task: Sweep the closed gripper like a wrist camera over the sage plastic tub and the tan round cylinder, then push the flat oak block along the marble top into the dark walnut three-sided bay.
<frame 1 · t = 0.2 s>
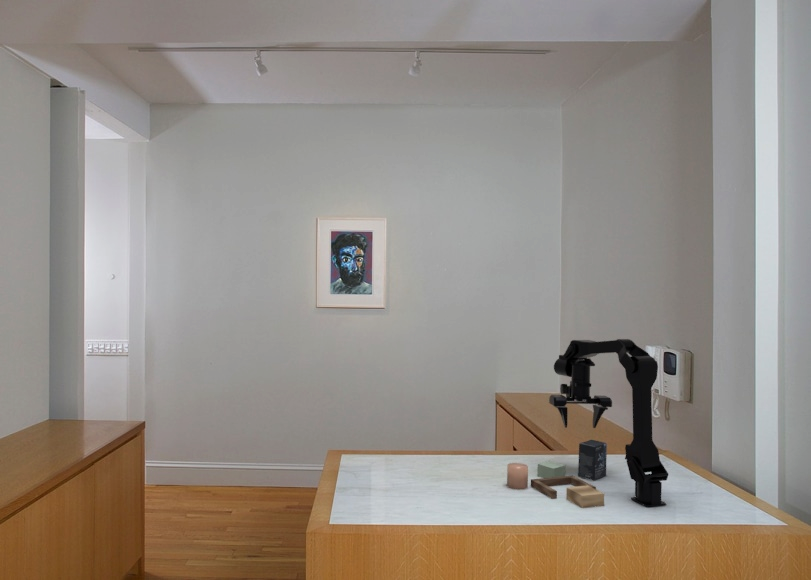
hand: (579, 427, 183), 14 cm above the counter, fingers open, 9 cm apart
box: (592, 477, 179), on the counter
tan round cylinder: (517, 486, 168), on the counter
oak block: (584, 503, 156), on the counter
sage tub: (551, 477, 178), on the counter
walnut bay: (561, 489, 166), on the counter
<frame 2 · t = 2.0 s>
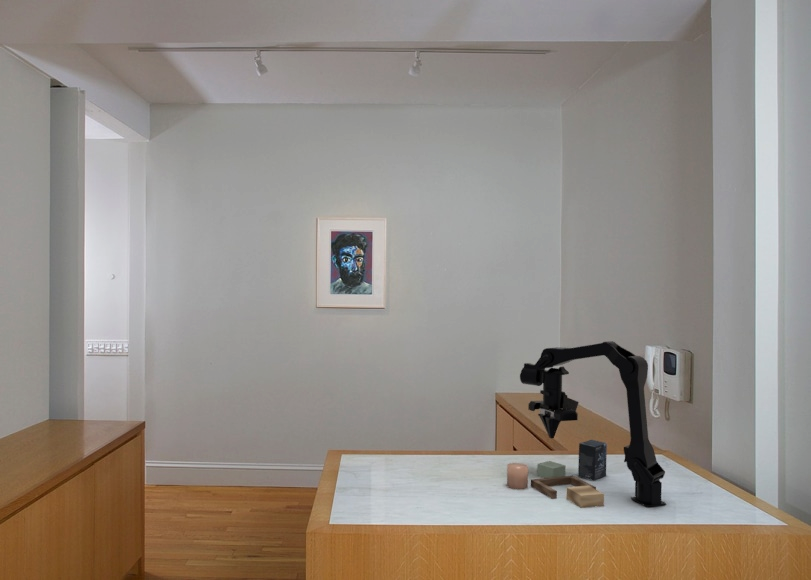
hand: (551, 438, 178), 12 cm above the counter, fingers closed
nothing on the counter moved.
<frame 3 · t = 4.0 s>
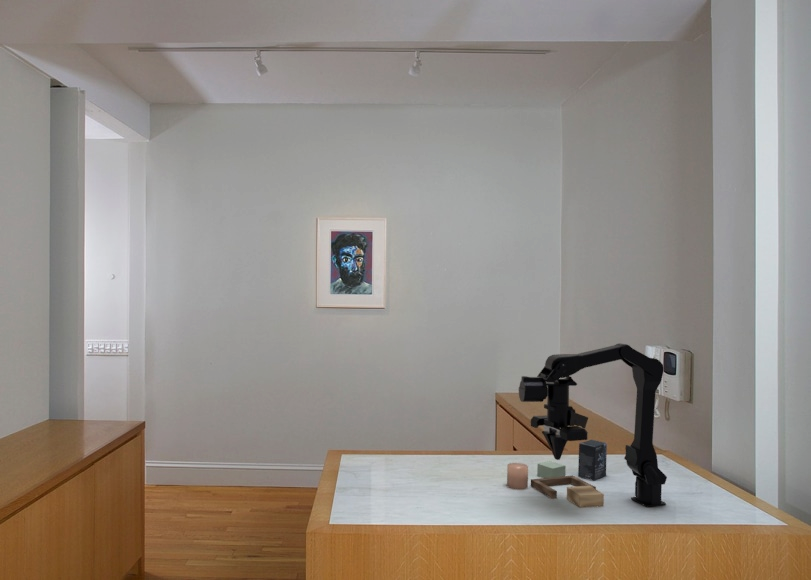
hand: (557, 459, 155), 12 cm above the counter, fingers closed
nothing on the counter moved.
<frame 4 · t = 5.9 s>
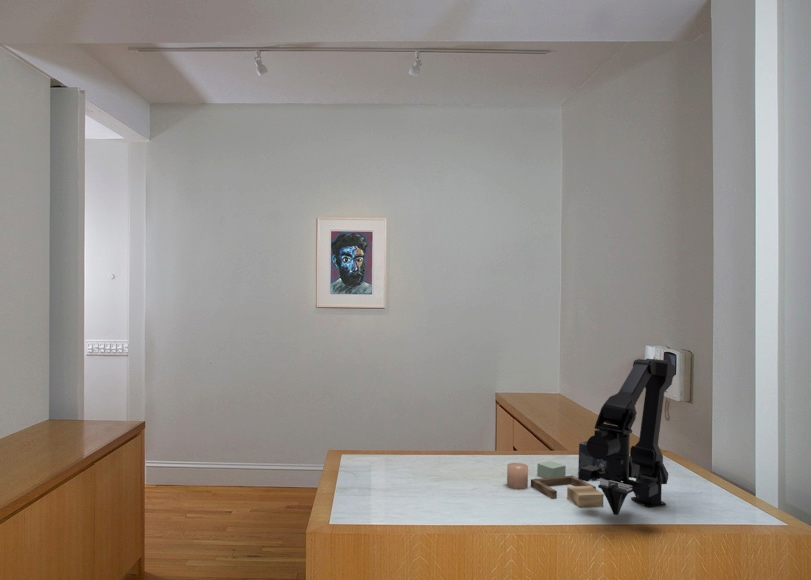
hand: (616, 514, 144), 1 cm above the counter, fingers closed
nothing on the counter moved.
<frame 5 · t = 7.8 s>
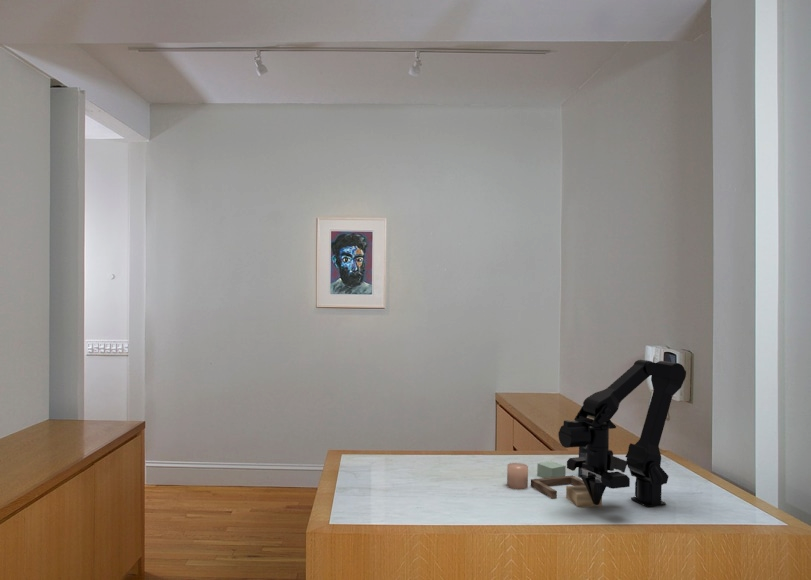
hand: (596, 504, 151), 1 cm above the counter, fingers closed
oak block: (583, 502, 156), on the counter, touching gripper
everything else where it was.
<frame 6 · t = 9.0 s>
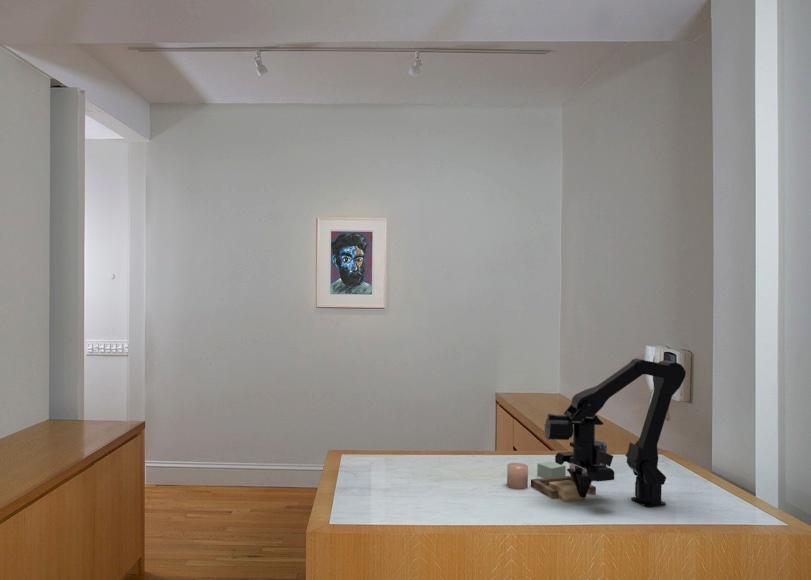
hand: (582, 497, 157), 1 cm above the counter, fingers closed
oak block: (566, 497, 161), on the counter, touching gripper
everything else where it was.
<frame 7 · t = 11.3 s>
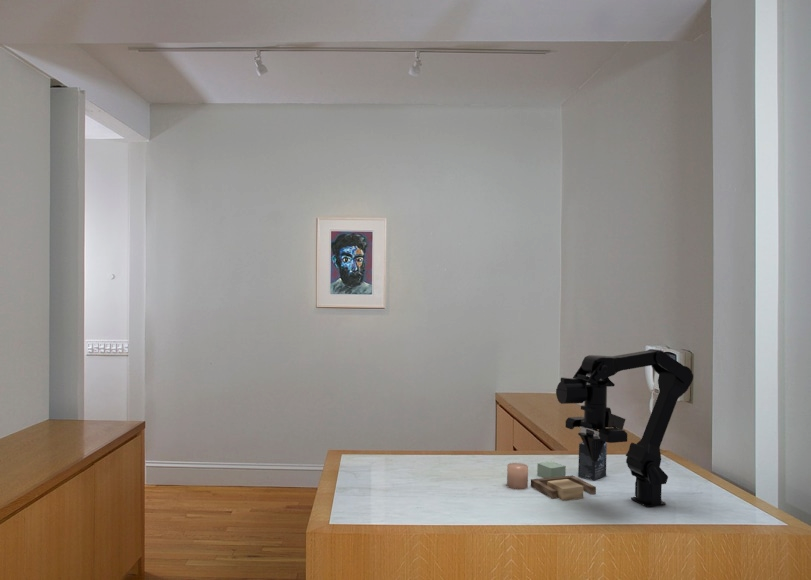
hand: (594, 461, 153), 12 cm above the counter, fingers closed
oak block: (565, 496, 161), on the counter
everything else where it was.
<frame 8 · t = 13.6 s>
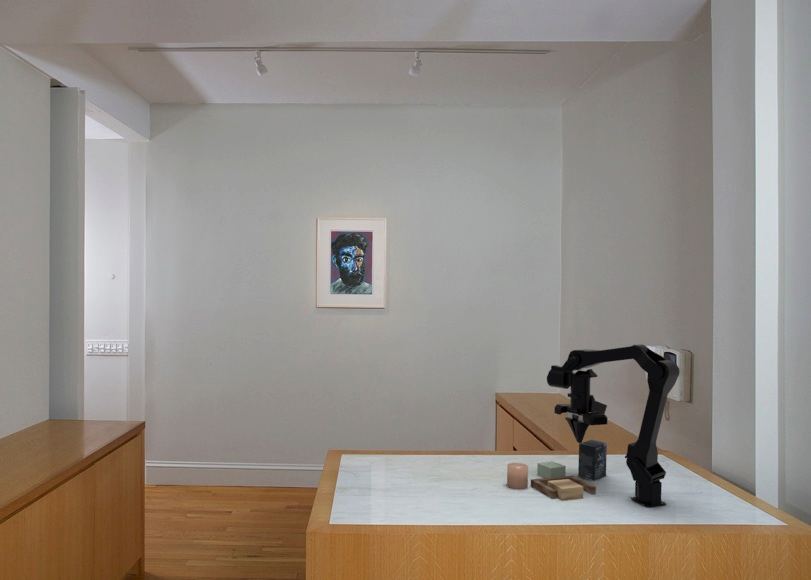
hand: (579, 442, 173), 12 cm above the counter, fingers closed
nothing on the counter moved.
at the end: oak block inside the target area (3.7 cm from its centre), on the counter; oak block tilted 0°; box moved 0.3 cm from its start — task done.
